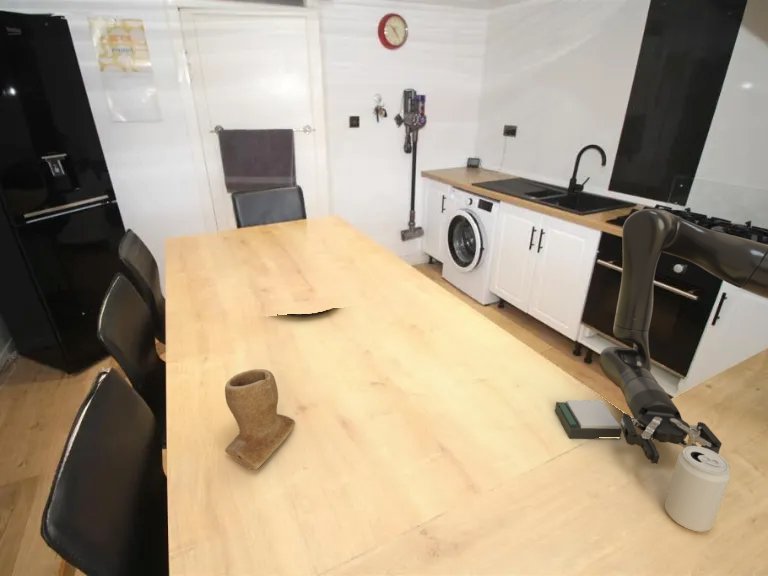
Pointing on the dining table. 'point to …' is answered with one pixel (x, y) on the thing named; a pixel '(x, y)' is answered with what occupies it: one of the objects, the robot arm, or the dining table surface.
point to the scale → (587, 419)
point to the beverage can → (697, 488)
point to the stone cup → (255, 417)
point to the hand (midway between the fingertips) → (685, 463)
